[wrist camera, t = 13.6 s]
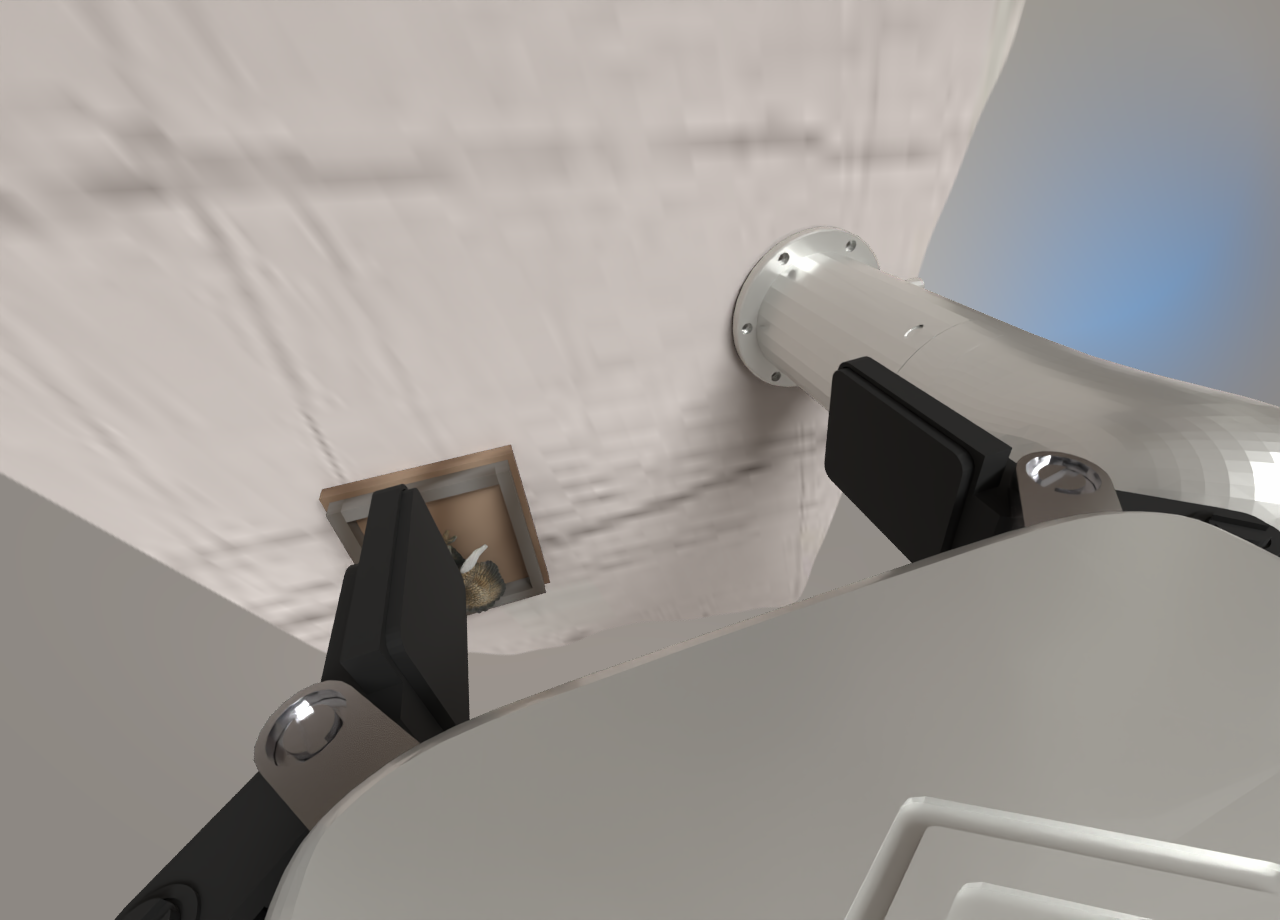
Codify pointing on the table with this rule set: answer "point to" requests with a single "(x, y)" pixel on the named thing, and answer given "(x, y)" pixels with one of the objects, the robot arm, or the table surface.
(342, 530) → the wooden tray
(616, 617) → the table surface
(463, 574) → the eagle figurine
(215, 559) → the table surface
